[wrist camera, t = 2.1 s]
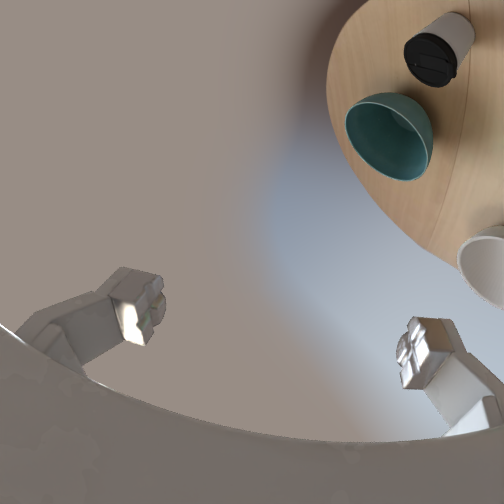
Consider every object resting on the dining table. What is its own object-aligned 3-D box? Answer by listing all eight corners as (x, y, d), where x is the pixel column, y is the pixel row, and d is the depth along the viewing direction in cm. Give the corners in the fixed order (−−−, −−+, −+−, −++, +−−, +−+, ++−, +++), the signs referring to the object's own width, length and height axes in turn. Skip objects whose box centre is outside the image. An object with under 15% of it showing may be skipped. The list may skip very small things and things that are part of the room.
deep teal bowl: (436, 161, 50) (416, 196, 49) (371, 126, 58) (345, 154, 57) (455, 100, 34) (437, 131, 33) (371, 64, 42) (341, 88, 41)
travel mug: (479, 50, 22) (456, 97, 20) (443, 41, 26) (404, 83, 24) (474, 16, 17) (452, 45, 15) (436, 9, 22) (394, 35, 19)
